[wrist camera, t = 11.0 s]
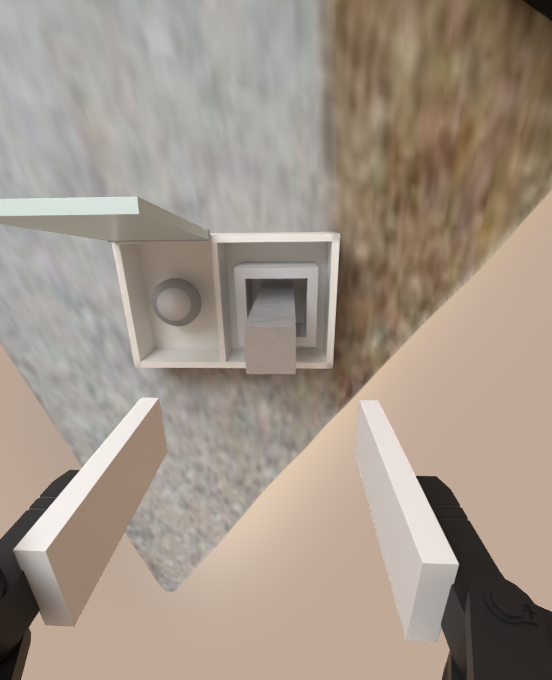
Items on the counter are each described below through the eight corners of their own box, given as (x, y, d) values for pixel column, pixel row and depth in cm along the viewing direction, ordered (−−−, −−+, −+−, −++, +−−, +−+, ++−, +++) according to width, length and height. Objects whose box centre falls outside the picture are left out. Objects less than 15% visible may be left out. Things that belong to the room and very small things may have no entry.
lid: (112, 242, 31) (111, 231, 30) (210, 241, 30) (210, 230, 30) (-45, 218, 16) (-50, 197, 16) (139, 216, 16) (137, 194, 16)
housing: (134, 234, 35) (104, 236, 30) (333, 231, 34) (341, 233, 29) (153, 350, 40) (130, 371, 35) (327, 351, 39) (333, 372, 34)
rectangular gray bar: (263, 282, 36) (243, 327, 21) (293, 282, 35) (296, 326, 20) (264, 311, 37) (246, 374, 22) (293, 311, 37) (295, 374, 22)
